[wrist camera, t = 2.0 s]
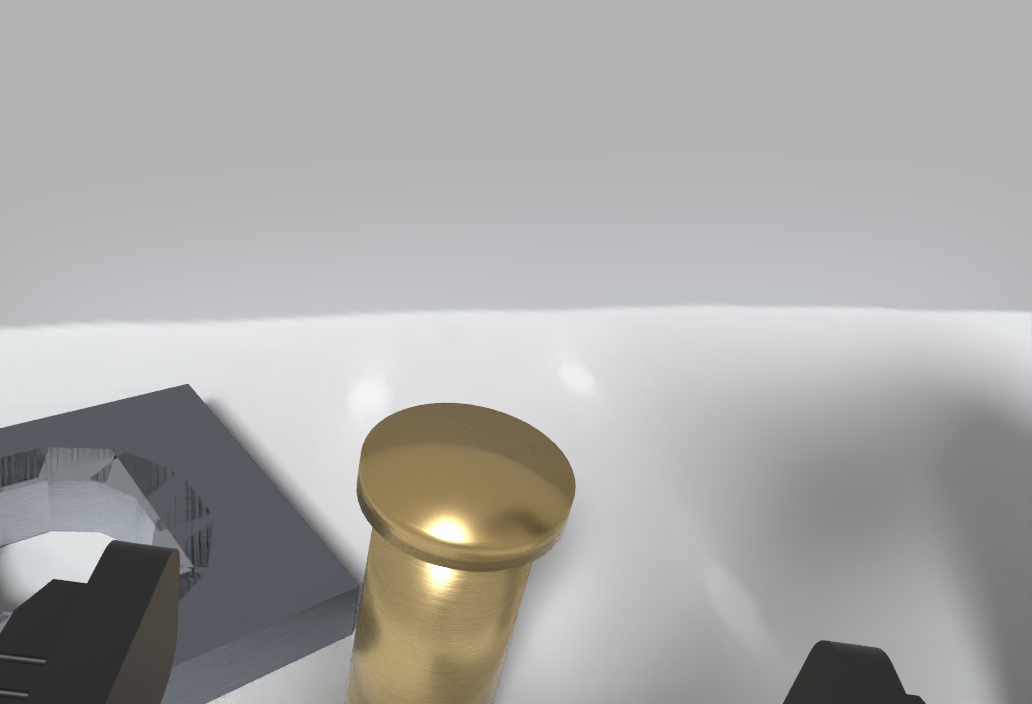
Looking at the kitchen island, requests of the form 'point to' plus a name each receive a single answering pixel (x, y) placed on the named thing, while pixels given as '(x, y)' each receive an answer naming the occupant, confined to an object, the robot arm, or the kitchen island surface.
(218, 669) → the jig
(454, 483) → the brass headed pin
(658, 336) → the kitchen island surface
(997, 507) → the kitchen island surface
